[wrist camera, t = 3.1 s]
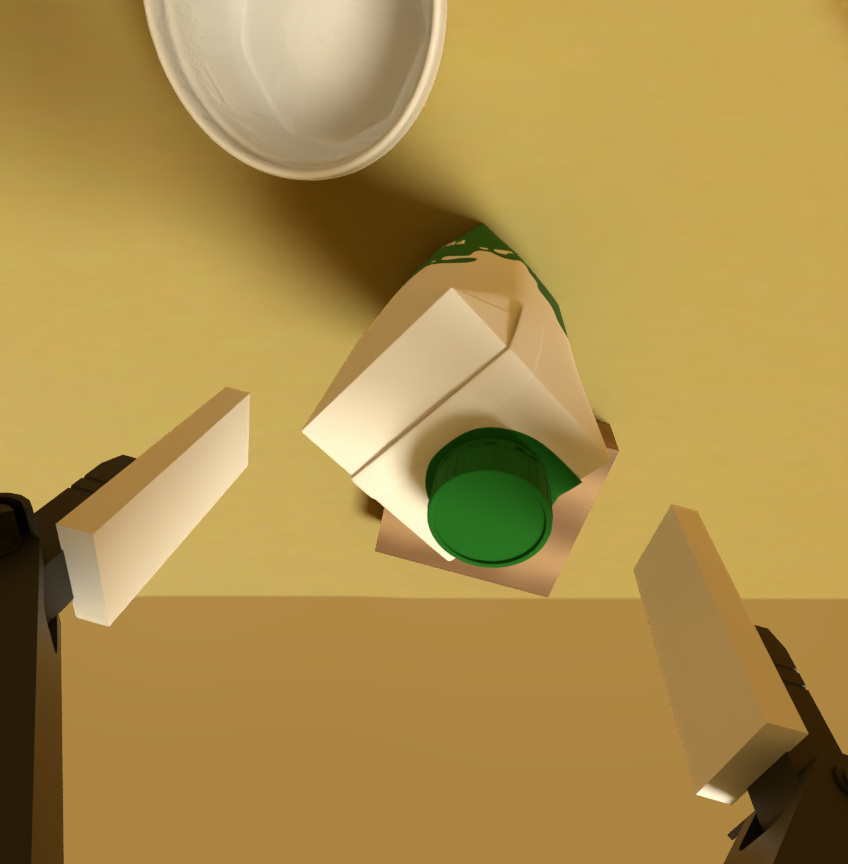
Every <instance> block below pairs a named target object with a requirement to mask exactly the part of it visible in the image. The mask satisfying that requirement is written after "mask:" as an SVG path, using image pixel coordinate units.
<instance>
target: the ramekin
mask: <svg viewBox="0 0 848 864" xmlns="http://www.w3.org/2000/svg"><path fill="white" fill-rule="evenodd" d="M143 4H144V8H145V13H146V18H147V23H148V27H149V31H150V35H151V37H152V41H153V44H154V47H155V49H156V52H157V56H158V59H159V61H160V63H161V65H162V67H163V70H164V72H165V74H166V76H167V78H168V80H169V82H170V84H171V86H172V88H173V89H174V91H175V93H176V94H177V96H178V98H179V99H180V101H181V103H182V104H183V106H184V107H185V108H186V110H187V111H188V112H189V114H190V115H191V116H192V118H193V119H194V120H195V121H196V123H197V124H198V125H199V126H200V127H201V129H202V130H203V131H204V132H205V133H206V134H207V135H208V136H209V137H210V138H211V139H212V140H213V141H214V142H215V143H216V144H218V145H219V146H220V147H221V148H222V149H224V150H225V151H226V152H228V153H229V154H231V155H232V156H234V157H235V158H237V159H238V160H240V161H241V162H243V163H245V164H247V165H249V166H251V167H253V168H255V169H257V170H260V171H262V172H265V173H268V174H271V175H274V176H278V177H282V178H287V179H295V180H312V181H315V180H327V179H334V178H338V177H342V176H346V175H349V174H352V173H355V172H357V171H359V170H361V169H363V168H365V167H367V166H369V165H371V164H372V163H374V162H375V161H377V160H378V159H380V158H381V157H382V156H384V155H385V154H386V153H387V152H388V151H390V150H391V149H392V148H393V147H394V146H395V145H396V144H397V143H398V142H399V141H400V140H401V139H402V138H403V136H404V135H405V134H406V133H407V131H408V130H409V129H410V127H411V126H412V124H413V123H414V122H415V120H416V119H417V117H418V115H419V113H420V112H421V110H422V108H423V106H424V105H425V104H426V100H427V98H428V96H429V94H430V91H431V89H432V87H433V83H434V80H435V77H436V74H437V72H438V68H439V64H440V60H441V56H442V51H443V46H444V39H445V31H446V20H447V0H143Z"/></svg>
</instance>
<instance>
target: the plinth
mask: <svg viewBox="0 0 848 864" xmlns="http://www.w3.org/2000/svg"><path fill="white" fill-rule="evenodd" d="M596 422H597V425H598V428H599V430H600V433H601V435H602V438H603V440H604V443H605V445H606V448H607V450H608V453H609V455H610V458H611V460H610V461H609V462H608V463H607V464H605V465H604V466H602V467H600V468H599V469H597V470H596V471H594V472H592V473H590V474H589V475H587V476H585V477H583V478H582V479H580V480H581V481H582V483H581V484H579V485H578V486H576V487H574V488H573V489H571V490H569V491H568V492H566V493H564V494H562V495H561V496H559V497H558V498H557V500H556V502H555V503H554V504H553V506H552V511H553V522H552V530H551V534H550V536H549V538H548V541H547V542H546V544H545V545H544V546H543V548H542V549H541V550H540V551H539V552H538V553H537V554H535V555H534V556H533V557H531V558H530V559H528V560H526V561H524V562H522V563H519V564H516V565H513V566H508V567H501V568H486V567H479V566H474V565H471V564H468V563H465V562H462V561H460V560H458V559H456V558H455V559H453V560H451V561H447V560H446V559H445V558H444V557H442V556H441V555H440V554H439V553H438V552H436V551H435V550H434V549H433V548H432V547H430V546H429V545H428V544H427V543H426V542H425V541H423V540H422V539H421V538H420V537H419V536H418V535H416V534H415V533H414V532H413V531H412V530H410V529H409V528H408V527H407V526H406V525H405V524H403V523H402V522H401V521H400V520H399V519H398V518H396V517H395V516H394V515H393V514H392V513H391V512H389V511H388V510H387V509H386V508H385V507H384V511H383V516H382V521H381V525H380V530H379V535H378V539H377V544H376V549H375V551H376V552H380V553H384V554H387V555H391V556H395V557H399V558H402V559H406V560H410V561H413V562H417V563H421V564H425V565H428V566H432V567H436V568H440V569H443V570H447V571H451V572H454V573H458V574H462V575H466V576H469V577H473V578H477V579H481V580H484V581H488V582H492V583H495V584H499V585H503V586H507V587H510V588H514V589H518V590H522V591H525V592H529V593H533V594H536V595H540V596H544V597H548V596H549V594H550V592H551V590H552V588H553V586H554V584H555V582H556V579H557V577H558V575H559V573H560V571H561V569H562V567H563V565H564V563H565V561H566V559H567V557H568V555H569V553H570V551H571V549H572V547H573V544H574V542H575V540H576V538H577V536H578V534H579V532H580V530H581V528H582V526H583V524H584V522H585V520H586V518H587V516H588V514H589V512H590V509H591V507H592V505H593V503H594V501H595V499H596V497H597V495H598V493H599V491H600V489H601V487H602V485H603V483H604V481H605V479H606V477H607V474H608V472H609V470H610V468H611V466H612V464H613V462H614V460H615V458H616V456H617V454H618V452H619V450H618V447H617V444H616V441H615V438H614V435H613V432H612V429H611V427H610V425H609V424H605V423H602V422H598V421H596Z"/></svg>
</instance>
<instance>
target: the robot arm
mask: <svg viewBox="0 0 848 864" xmlns="http://www.w3.org/2000/svg"><path fill="white" fill-rule="evenodd" d="M249 413H250V393H248V392H244V391H241V390H237V389H233V388H229V387H225V388H224V389H223V390H222V391H220V392H219V393H218V394H217V395H216V396H214V397H213V398H212V399H211V400H209V401H208V402H207V403H206V404H204V405H203V406H202V407H201V408H199V409H198V410H197V411H196V412H194V413H193V414H192V415H191V416H189V417H188V418H187V419H186V420H184V421H183V422H182V423H181V424H179V425H178V426H177V427H176V428H174V429H173V430H172V431H171V432H169V433H168V434H167V435H166V436H165V437H163V438H162V439H161V440H160V441H158V442H157V443H156V444H155V445H153V446H152V447H151V448H150V449H148V450H147V451H146V452H145V453H143V454H142V455H141V456H140V457H138V458H133V457H129V456H126V455H121V456H118V457H116V458H113V459H111V460H108V461H106V462H103V463H101V464H100V465H98V466H97V467H96V468H94V469H93V470H92V471H90V472H89V473H87V474H86V475H85V477H84V478H81V479H79V480H78V481H77V482H75V483H74V484H73V485H72V486H71V488H67V489H66V490H65V491H63V492H62V493H61V494H59V495H58V496H57V497H55V498H54V499H53V500H51V501H50V502H49V503H47V504H46V505H45V506H43V507H42V508H41V509H39V510H38V511H37V512H35V513H34V512H33V508H32V506H31V503H30V500H28V499H27V498H25V497H23V496H22V495H18V494H13V493H0V864H64V854H63V853H64V852H63V778H62V776H63V774H62V697H61V696H62V694H61V622H60V618H59V613H60V612H61V611H62V610H63V609H64V608H65V607H66V606H67V605H68V603H70V602H71V600H73V605H74V609H75V614H76V617H77V618H80V619H84V620H88V621H91V622H94V623H98V624H101V625H105V626H110V625H111V623H112V622H113V621H114V620H115V619H116V618H117V617H118V615H119V614H120V613H121V612H122V611H123V610H124V608H125V607H126V606H127V605H128V604H129V603H130V602H131V600H132V599H133V598H134V597H135V596H136V595H137V593H138V592H139V591H140V590H141V589H142V588H143V587H144V585H145V584H146V583H147V582H148V581H149V580H150V578H151V577H152V576H153V575H154V574H155V573H156V571H157V570H158V569H159V568H160V567H161V566H162V565H163V563H164V562H165V561H166V560H167V559H168V558H169V556H170V555H171V554H172V553H173V552H174V551H175V549H176V548H177V547H178V546H179V545H180V544H181V542H182V541H183V540H184V539H185V538H186V537H187V536H188V534H189V533H190V532H191V531H192V530H193V529H194V527H195V526H196V525H197V524H198V523H199V522H200V520H201V519H202V518H203V517H204V516H205V515H206V513H207V512H208V511H209V510H210V509H211V508H212V507H213V505H214V504H215V503H216V502H217V501H218V500H219V498H220V497H221V496H222V495H223V494H224V493H225V491H226V490H227V489H228V488H229V487H230V486H231V484H232V483H233V482H234V481H235V480H236V479H237V478H238V476H239V475H240V474H241V473H242V472H243V471H244V469H245V468H246V467H247V466H248V444H249ZM634 573H635V577H636V580H637V584H638V588H639V591H640V595H641V598H642V602H643V606H644V609H645V613H646V616H647V620H648V624H649V627H650V630H651V634H652V638H653V641H654V645H655V648H656V652H657V656H658V659H659V663H660V667H661V670H662V674H663V677H664V681H665V685H666V688H667V692H668V695H669V699H670V703H671V706H672V710H673V713H674V717H675V721H676V724H677V728H678V731H679V735H680V739H681V742H682V746H683V749H684V753H685V756H686V760H687V764H688V767H689V771H690V775H691V778H692V782H693V785H694V789H695V792H696V795H700V796H703V797H707V798H710V799H714V800H717V801H721V802H724V803H728V804H731V805H732V804H733V803H734V802H736V801H737V800H738V799H739V798H740V797H741V796H742V795H743V794H744V793H745V792H746V791H747V790H748V793H749V795H750V798H751V801H752V804H753V806H754V809H755V811H754V812H753V813H752V814H750V815H749V816H748V817H747V818H746V819H745V820H744V821H743V822H741V823H740V824H739V825H738V826H737V827H736V828H734V829H733V830H732V831H731V832H730V833H729V834H728V836H729V837H730V838H731V839H732V840H733V839H735V838H736V837H737V838H736V840H735V842H734V844H733V846H732V848H731V850H730V852H729V854H728V856H727V858H726V860H725V862H724V864H848V755H845V754H843V753H842V752H841V750H840V748H839V746H838V745H837V743H836V741H835V739H834V737H833V735H832V733H831V732H830V730H829V728H828V726H827V724H826V722H825V720H824V719H823V717H822V715H821V713H820V711H819V709H818V707H817V706H816V704H815V702H814V700H813V698H812V697H811V694H810V693H809V691H808V690H806V689H805V687H806V685H805V683H804V681H803V680H802V678H801V676H800V674H799V673H797V672H796V670H797V669H796V667H795V665H794V663H793V661H792V659H791V658H790V656H789V654H788V652H787V650H786V648H785V647H784V646H783V645H782V644H781V643H780V642H779V641H778V640H777V639H776V637H775V636H774V635H773V634H772V633H771V632H770V631H769V629H767V628H763V627H760V626H756V625H754V624H753V622H752V620H751V618H750V616H749V614H748V612H747V610H746V608H745V606H744V604H743V602H742V600H741V598H740V596H739V594H738V592H737V590H736V588H735V586H734V584H733V582H732V580H731V578H730V576H729V574H728V572H727V570H726V568H725V566H724V564H723V562H722V560H721V558H720V556H719V554H718V552H717V550H716V548H715V546H714V544H713V542H712V540H711V538H710V536H709V534H708V532H707V530H706V528H705V526H704V524H703V522H702V520H701V518H700V516H699V514H698V512H697V511H695V510H691V509H688V508H684V507H680V506H676V505H671V506H670V508H669V510H668V511H667V513H666V515H665V517H664V518H663V520H662V522H661V523H660V525H659V527H658V529H657V530H656V532H655V534H654V535H653V537H652V539H651V541H650V542H649V544H648V546H647V547H646V549H645V551H644V553H643V554H642V556H641V558H640V559H639V561H638V563H637V565H636V566H635V568H634Z"/></svg>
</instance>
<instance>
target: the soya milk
mask: <svg viewBox="0 0 848 864" xmlns="http://www.w3.org/2000/svg"><path fill="white" fill-rule="evenodd" d="M301 431H302V433H304V434H305V435H306V436H307V437H308V438H309V439H310V440H311V441H313V442H314V443H315V444H316V445H317V446H318V447H319V448H321V449H322V450H323V451H324V452H325V453H326V454H327V455H329V456H330V457H331V458H332V459H333V460H334V461H335V462H337V463H338V464H339V465H340V466H341V467H342V468H344V469H345V470H346V471H347V472H348V473H349V474H350V475H352V476H351V480H352V481H353V482H354V483H355V484H356V485H357V486H358V487H359V488H360V489H361V490H362V491H364V492H365V493H366V494H367V495H369V496H370V497H371V498H373V499H375V500H377V501H378V502H379V503H380V504H381V505H382V506H384V507H385V508H386V509H387V510H388V511H389V512H391V513H392V514H393V515H394V516H395V517H396V518H398V519H399V520H400V521H401V522H402V523H403V524H405V525H406V526H407V527H408V528H409V529H410V530H412V531H413V532H414V533H415V534H416V535H418V536H419V537H420V538H421V539H422V540H423V541H425V542H426V543H427V544H428V545H429V546H430V547H432V548H433V549H434V550H435V551H436V552H438V553H439V554H440V555H441V556H442V557H444V558H445V559H446V560H447V561H451V560H453V559H455V558H456V559H458V560H460V561H462V562H465V563H468V564H471V565H474V566H479V567H486V568H501V567H508V566H513V565H516V564H519V563H522V562H524V561H526V560H528V559H530V558H531V557H533V556H534V555H535V554H537V553H538V552H539V551H540V550H541V549H542V548H543V546H544V545H545V544H546V542H547V541H548V538H549V536H550V534H551V530H552V522H553V511H552V506H553V504H554V503H555V502H556V500H557V498H558V497H559V496H561V495H562V494H564V493H566V492H568V491H569V490H571V489H573V488H574V487H576V486H578V485H579V484H581V483H582V481H581V480H580V479H582V478H583V477H585V476H587V475H589V474H590V473H592V472H594V471H596V470H597V469H599V468H600V467H602V466H604V465H605V464H607V463H608V462H609V461H610V460H611V458H610V455H609V453H608V450H607V448H606V445H605V443H604V440H603V438H602V435H601V433H600V430H599V428H598V425H597V422H596V420H595V417H594V415H593V412H592V410H591V407H590V404H589V402H588V399H587V397H586V394H585V391H584V389H583V386H582V383H581V381H580V378H579V375H578V372H577V369H576V366H575V362H574V358H573V355H572V351H571V347H570V344H569V340H568V337H567V333H566V330H565V326H564V323H563V319H562V316H561V312H560V309H559V305H558V304H557V302H556V301H555V299H554V298H553V297H552V295H551V294H550V293H549V291H548V290H547V289H546V288H545V286H544V285H543V284H542V283H541V281H540V280H539V279H538V278H537V277H536V275H535V274H534V273H533V272H532V270H531V269H530V268H529V267H528V266H527V265H526V264H525V262H524V261H523V260H522V259H521V258H520V257H519V256H518V255H517V254H516V253H515V252H514V251H513V250H512V249H511V248H510V247H509V246H507V245H506V244H505V243H504V242H503V241H502V240H501V239H499V238H498V237H497V236H496V235H495V234H494V233H493V232H492V231H491V230H490V229H489V228H488V227H487V226H486V225H485V224H481V225H480V226H478V227H476V228H475V229H473V230H471V231H469V232H468V233H466V234H464V235H463V236H461V237H459V238H457V239H456V240H454V241H452V242H451V243H449V244H447V245H446V246H444V247H442V248H441V249H439V250H438V251H437V252H436V253H434V254H433V255H432V256H431V257H430V258H429V259H428V260H427V261H426V262H424V263H423V264H422V265H421V266H420V267H419V268H418V269H417V270H416V271H415V272H414V273H413V274H412V275H411V276H410V277H409V278H408V279H407V280H406V282H405V283H404V284H403V285H402V286H401V288H400V289H399V290H398V291H397V293H396V294H395V295H394V296H393V298H392V299H391V300H390V301H389V303H388V304H387V305H386V306H385V308H384V309H383V310H382V311H381V313H380V314H379V315H378V316H377V318H376V319H375V320H374V321H373V323H372V324H371V325H370V326H369V328H368V329H367V330H366V332H365V333H364V334H363V336H362V337H361V338H360V339H359V341H358V342H357V344H356V345H355V347H354V348H353V350H352V351H351V353H350V355H349V356H348V358H347V359H346V361H345V363H344V364H343V366H342V368H341V369H340V371H339V372H338V374H337V376H336V377H335V379H334V380H333V382H332V384H331V385H330V387H329V388H328V390H327V392H326V393H325V395H324V397H323V398H322V400H321V401H320V403H319V404H318V406H317V407H316V409H315V410H314V412H313V414H312V415H311V417H310V418H309V420H308V421H307V423H306V424H305V426H304V427H303V429H302V430H301Z"/></svg>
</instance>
